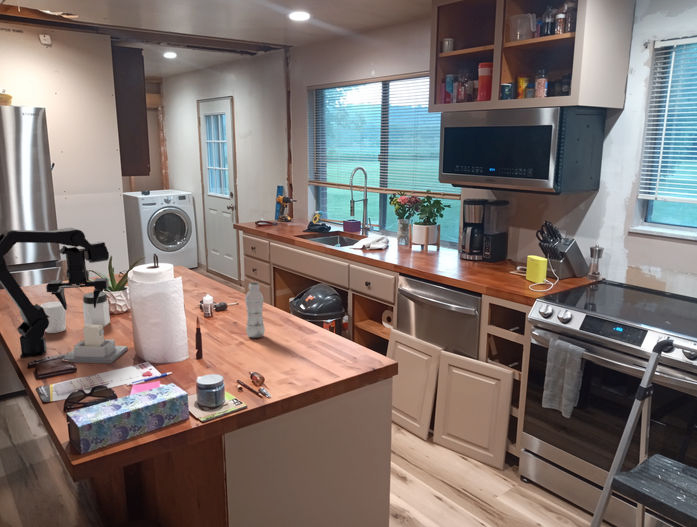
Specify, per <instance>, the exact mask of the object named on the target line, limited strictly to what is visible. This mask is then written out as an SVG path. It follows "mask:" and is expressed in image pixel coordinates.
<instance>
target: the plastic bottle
mask: <svg viewBox="0 0 697 527" xmlns="http://www.w3.org/2000/svg"><path fill="white" fill-rule="evenodd" d="M260 289H261V287H260V283H259V282H250V283H248V292H246V295H245V297H244V301H245V307H246V316H247V317H246V318H247V319H246V328H245V331H246V335H247V336H248V337H249V338H251V339H252V338H253V339H259V338H262V337H263V336H264V335H265V330H266V329H265V325H264V316H263V310H264V309H263V306H264V295H263V294H262V292H261V291H260Z"/></svg>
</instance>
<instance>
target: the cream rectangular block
mask: <svg viewBox="0 0 697 527" xmlns="http://www.w3.org/2000/svg"><path fill="white" fill-rule="evenodd" d="M82 330H83V331H82V332H83V340H84V344H85V346H96V347H103V346H104V345H105V342H104V339H105V338H104V337H105V336H104V334H105V330H104V327H103V325H89V324H88V325H86V326H85V325H84V326H83V327H82Z"/></svg>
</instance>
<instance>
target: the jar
mask: <svg viewBox="0 0 697 527" xmlns="http://www.w3.org/2000/svg"><path fill="white" fill-rule="evenodd" d="M107 295H108V294H107V292H105V291H102V292H100V294H99V296H98V300H97V304H96V308H94V291H92V292H87V293H85V294H83V296H82V300H83V301H82V311H83V313H82V314H83V321H84V322H83V323H84V327H85V326H86V325H88V324H89V325H103V328H104V327H106V326H108V325H109V324H110V323H111V318H110V307H109V299H108V296H107Z"/></svg>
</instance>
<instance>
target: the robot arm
mask: <svg viewBox="0 0 697 527" xmlns="http://www.w3.org/2000/svg"><path fill="white" fill-rule="evenodd" d="M17 243H19V244H20V243H22V244H25V243H30V244H33V243H35V244H36V243H37V244H39V243H42V244H45V243H46V244H59V245H63V246H62V247H61V249H59V250H58V253H59V254H61V255H65V259H66V278H67V280H68V282H63V280H62V279H54V280H50V281H49V282H48V283H47V284H46V286H45V289H46V293H50V294H51V295H53V296H55V297H56V298H57V300H58V301H60V302H61V304H62V306H63V307H64V309H65V311H67V310H68V305H67V299H66V295H65V289H72V288H73V289H74V288H88V287H89V288H91V287H93V288H94V289H93V292H94V308H96V304H97V300H98V296H99V294H100V292H104V290H106V289H108V287H109V285H110V284H109V282H110V281H109V279H108V278H107V277H96V278H95V279H94V280H90V273H89V272H90V271H89V270H87V266H86V265H87V264H86V261H88V263H89V264H93V263H100V262H106V261H108V260H109V258H110V253H109V251H108V248H107V246H106V243H105V242H104V241H98V242H94V243H91V242H89V241H88V239H86V235H85V233H84V232H83V231H82V230H80V229H77V228H74V227H65V228H64V227H63V228H60V229H59V228H58V229H55V230H32V229H31V230H25V229H22V230H21V229H19V230H18V229H11V228H9V229H6V230H4V231H3V232H1V234H0V285H1V286H2V287H3V289H4V290H5V292H6V294H8V296H9V297H10V299H11V300H12V301H13V302H14V304H15V305H16V307H17V309H18V310H19V313H20V316H21V318H22V320H23V321H22V323H21V324H20V325H19V326H18V327H17V328H16V330H17V332H18V333H19V335H21V336H20V337H19V342H20V344H19V345H20V351H21V353H20V355H19V357H20V358H28V357H38V356H39V357H40V356H43V355H44V354H45V352H46V350H47V341H46V340H47V339H46V337H44V336H45V333H46V331H45V330H46V329H47V327H48V325H49V320H48V318H49V316H48V315H46V313H45V311H44V309H43V308H42V307H41V305H39V304H38V303H35V304H33V303H32V301H31V300H30V298H28V296H27V295H26V293H25V292H24V290H23V289H22V288H21V286H20V285H19V283H18V281H17V280H16V279H15V278H14V276H13V274H11V272H10V271H9V268H8V265H7V262H6V260H5V257H4V256H6V254H7V253H9V251H11V249H12V248H13V247H14V245H15V244H17ZM67 246H70V247H67ZM78 247H81V248H78Z"/></svg>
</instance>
